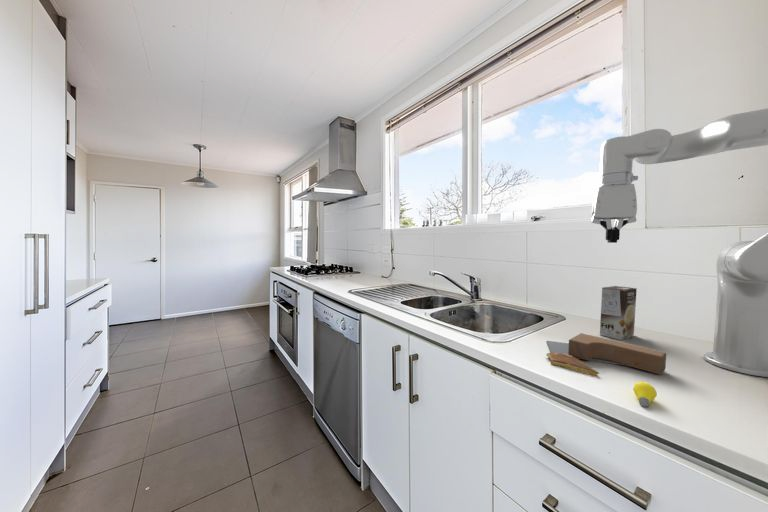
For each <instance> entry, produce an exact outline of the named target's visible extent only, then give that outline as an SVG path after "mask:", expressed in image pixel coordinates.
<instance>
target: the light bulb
mask: <svg viewBox="0 0 768 512" xmlns="http://www.w3.org/2000/svg"><path fill="white" fill-rule="evenodd" d="M632 390H633V393H634V395H635V396H636V398H637V399H638V403H639V405H640V406H641V407H643V408H648V407H649V406H650V404H651V402H653V401H654V400H655V398H657V391H656V388H655V387H654V386H653V385H651V384H650V383H649V382H644V381H639V382H635V384H634V385H633V388H632Z"/></svg>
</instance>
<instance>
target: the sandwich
mask: <svg viewBox="0 0 768 512" xmlns="http://www.w3.org/2000/svg"><path fill="white" fill-rule="evenodd" d="M545 355H546V356H547V357H548V359H550V365H553V366H558V367H562V368H565V369H569V370H572V371H576V372H579V373H583V374H586V375H592V376H597V377H598V375H599V374H600V371H597V370H595V369H594V368H592V367H590V366H589V365H587V363H585V362H583V361H582V360H581V359H577V358H575V357H573V356H572V355H567V354H563V353H550V352H547V353H545Z"/></svg>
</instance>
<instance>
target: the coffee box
mask: <svg viewBox="0 0 768 512" xmlns="http://www.w3.org/2000/svg"><path fill="white" fill-rule="evenodd" d="M601 289H602V290H601V304H600V323H599V325H600V326H599V335H600V336H604V337H606V338H611V339H615V340H619V341H623V340H625V339H628V337H629V338H631V336H632V337H633V335H634V336H635V322H636V321H635V319H636V305H637V304H636V303H637V289H638V288H637V287H629V286H628V287H627V286H617V285H613V286H605V287H601Z"/></svg>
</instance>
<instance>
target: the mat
mask: <svg viewBox="0 0 768 512" xmlns="http://www.w3.org/2000/svg"><path fill="white" fill-rule="evenodd" d="M546 344H547V348H548V350H549V353H563V354H567V355H569V354H568V350H569V342H568V343H567V342H560V341H552V340H546ZM575 358H577V357H575ZM577 359H579V360H581V359H580V358H577ZM582 360H584V359H582ZM588 361H591V362H597V363H605V364H612V365H618V366H619V365H620V366H626V367H628V366H627V365H623V364H620V363H616V362H612V361H608V360H603V359H594V358H592V359H589V360H588Z"/></svg>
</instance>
